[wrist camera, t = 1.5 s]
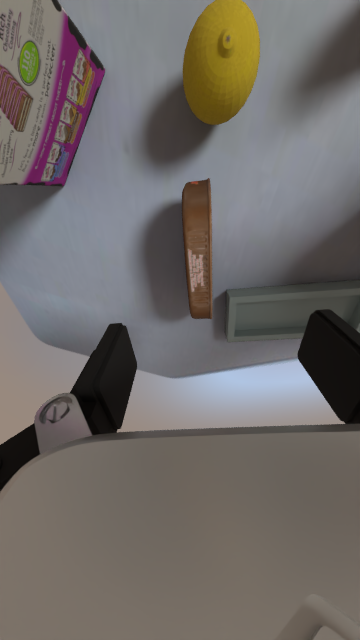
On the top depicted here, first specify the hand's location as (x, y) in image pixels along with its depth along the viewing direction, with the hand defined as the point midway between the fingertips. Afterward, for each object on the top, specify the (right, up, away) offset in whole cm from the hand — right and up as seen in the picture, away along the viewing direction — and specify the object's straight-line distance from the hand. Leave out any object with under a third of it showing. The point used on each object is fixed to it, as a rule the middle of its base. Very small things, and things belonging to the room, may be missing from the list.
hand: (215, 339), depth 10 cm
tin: (0, +10, +16) cm, 19 cm away
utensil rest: (+15, +3, +20) cm, 26 cm away
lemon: (+1, +22, +8) cm, 24 cm away
